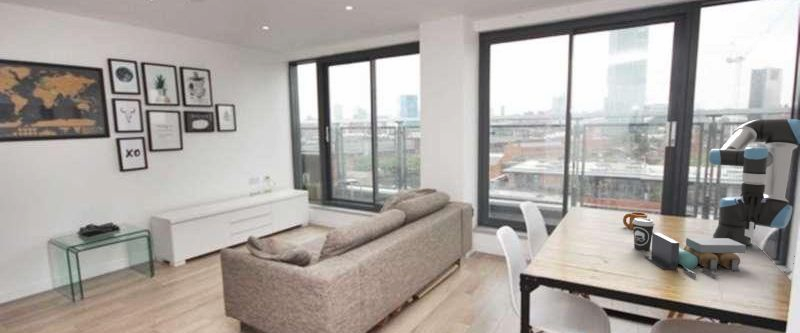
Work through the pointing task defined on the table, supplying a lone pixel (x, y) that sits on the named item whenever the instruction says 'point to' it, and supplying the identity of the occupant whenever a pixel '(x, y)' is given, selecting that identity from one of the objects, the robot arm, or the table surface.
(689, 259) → the roller
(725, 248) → the slab
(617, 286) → the table surface
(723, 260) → the roller
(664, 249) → the block
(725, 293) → the table surface
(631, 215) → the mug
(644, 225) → the coffee cup
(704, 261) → the roller
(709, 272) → the roller bed
